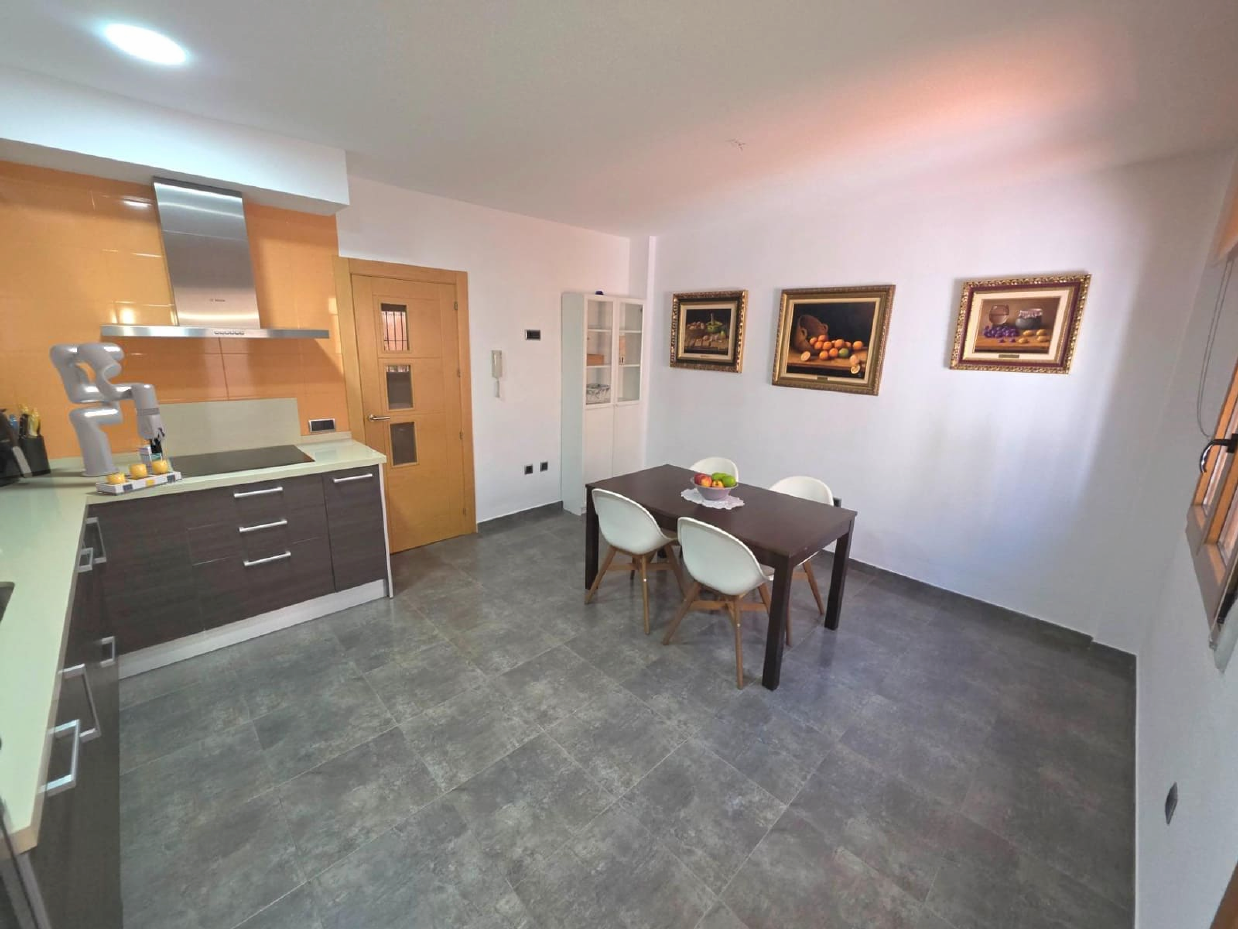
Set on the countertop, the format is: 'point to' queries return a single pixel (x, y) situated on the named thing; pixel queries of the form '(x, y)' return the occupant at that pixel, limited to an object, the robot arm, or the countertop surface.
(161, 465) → the button far
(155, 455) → the syrup box
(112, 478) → the button near
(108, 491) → the console
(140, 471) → the button mid
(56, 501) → the countertop surface
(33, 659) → the countertop surface
